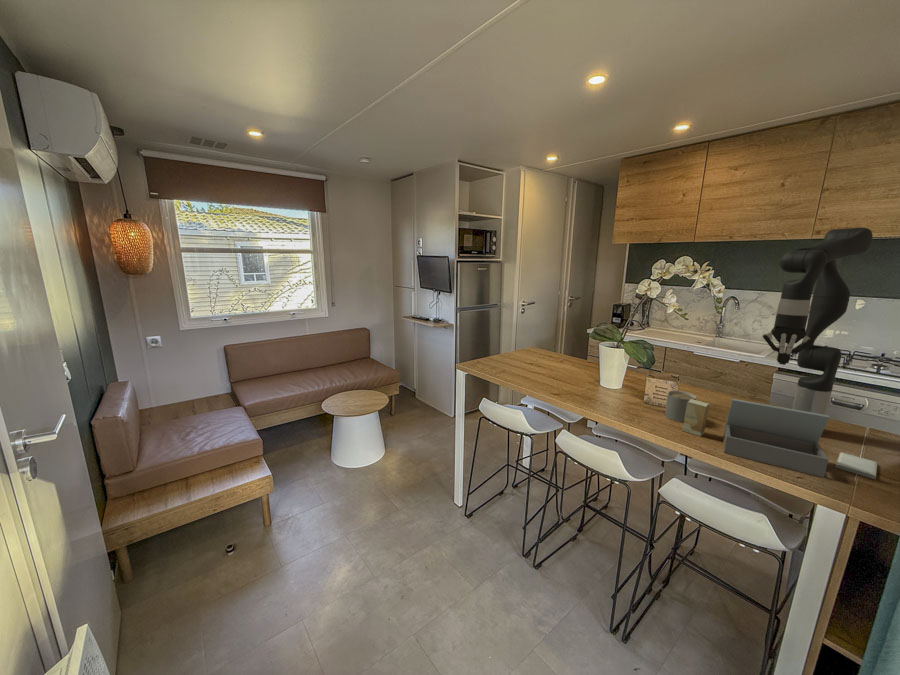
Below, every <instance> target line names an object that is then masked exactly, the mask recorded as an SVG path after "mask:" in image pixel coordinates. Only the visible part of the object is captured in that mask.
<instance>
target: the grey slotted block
mask: <svg viewBox="0 0 900 675" xmlns="http://www.w3.org/2000/svg"><path fill="white" fill-rule="evenodd" d="M722 437H723V438H722V442H723V443H722V444H723V453H724V454H726V455H731V456H735V457H739V458H743V459H747V460H751V461H755V462H758V463H763V464H768V465H771V466H775V467H779V468H784V469H787V470H792V471H794V472H801V473H804V474H808V475H813V476H816V477H819V478H825V475H826V472H827V467H828V462H829V458H828V456H827V454H826V453H825V451H824V450H823V448H822V446H821V445H820V443H819V442H818V443H815V442H810V441H805V440H800V439H796V438H791V437H786V436H781V435H777V434H772V433H767V432H762V431H757V430H753V429H748V428H743V427H738V426H733V425H729V424H726V423H725V426H724V431H723V436H722Z"/></svg>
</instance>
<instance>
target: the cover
mask: <svg viewBox="0 0 900 675" xmlns="http://www.w3.org/2000/svg"><path fill="white" fill-rule="evenodd" d="M727 414H728V415H727V419H726V423H725V425H726V424H729V425H733V426H738V427H743V428H748V429H753V430H757V431H762V432H767V433H772V434H777V435H781V436H786V437H791V438H796V439H800V440H805V441H810V442H815V443H819V442H820V439H821V437H822V435H823V432H824V431H825V429H826V427H827V426H826V425H827V423H828V421H829V420H830V415H828V414H826V415H823V414H817V413H812V412H806V411H800V410H795V409H792V408H788V407H784V406H783V407H782V406H777V405H776V406H775V405H770V404H764V403H759V402H753V401H747V400H742V399H736V398H731V402H730V407H729V411H728V413H727Z"/></svg>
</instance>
